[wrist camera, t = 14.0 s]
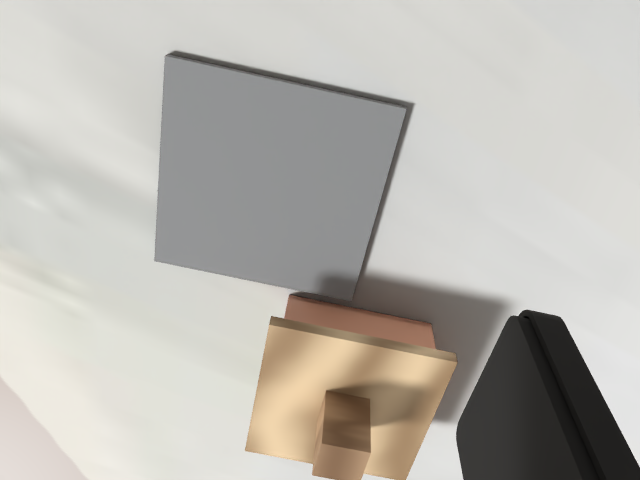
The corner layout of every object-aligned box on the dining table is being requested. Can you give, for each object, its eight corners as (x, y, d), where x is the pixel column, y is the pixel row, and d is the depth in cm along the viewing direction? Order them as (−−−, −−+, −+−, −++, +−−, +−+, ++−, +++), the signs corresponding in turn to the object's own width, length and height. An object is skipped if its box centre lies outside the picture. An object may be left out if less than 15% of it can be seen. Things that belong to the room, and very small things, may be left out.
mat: (406, 106, 36) (406, 109, 35) (351, 297, 44) (351, 301, 43) (167, 54, 35) (164, 55, 34) (156, 257, 43) (154, 261, 42)
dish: (431, 323, 44) (437, 361, 40) (392, 421, 50) (395, 462, 46) (289, 294, 44) (282, 329, 40) (267, 396, 50) (259, 435, 46)
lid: (455, 353, 40) (469, 415, 35) (404, 471, 47) (409, 538, 42) (271, 316, 39) (257, 374, 34) (247, 441, 46) (232, 505, 41)
